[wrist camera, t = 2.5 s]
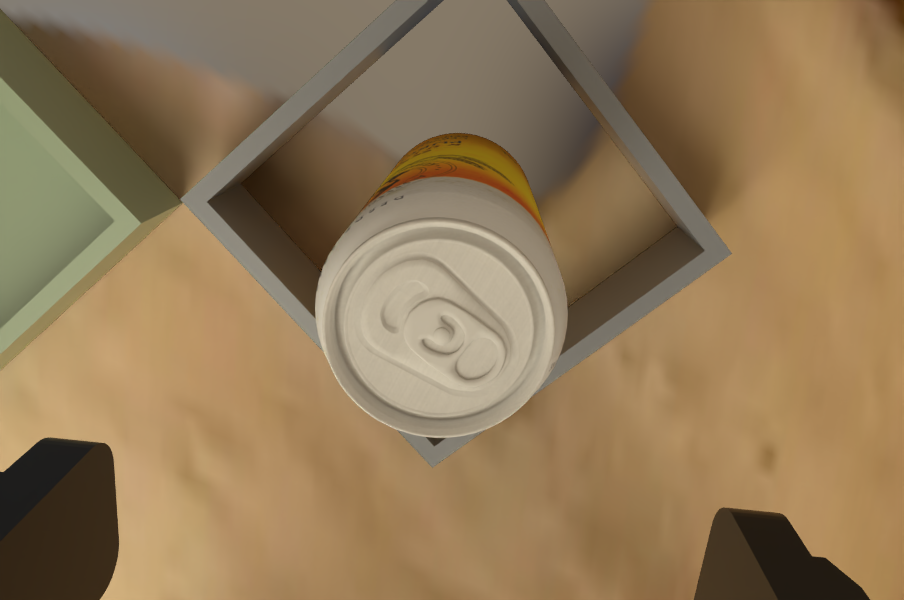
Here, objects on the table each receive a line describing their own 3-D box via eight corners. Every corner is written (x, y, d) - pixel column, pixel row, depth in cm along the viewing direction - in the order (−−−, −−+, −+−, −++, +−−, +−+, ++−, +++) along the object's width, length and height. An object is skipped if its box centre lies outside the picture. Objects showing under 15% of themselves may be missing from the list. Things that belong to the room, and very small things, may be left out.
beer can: (443, 99, 30) (407, 142, 15) (561, 191, 30) (629, 312, 16) (358, 218, 31) (253, 355, 17) (472, 301, 32) (463, 498, 18)
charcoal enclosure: (701, 228, 31) (732, 253, 27) (437, 421, 34) (432, 467, 30) (484, -63, 28) (484, -81, 24) (217, 181, 31) (179, 199, 27)
